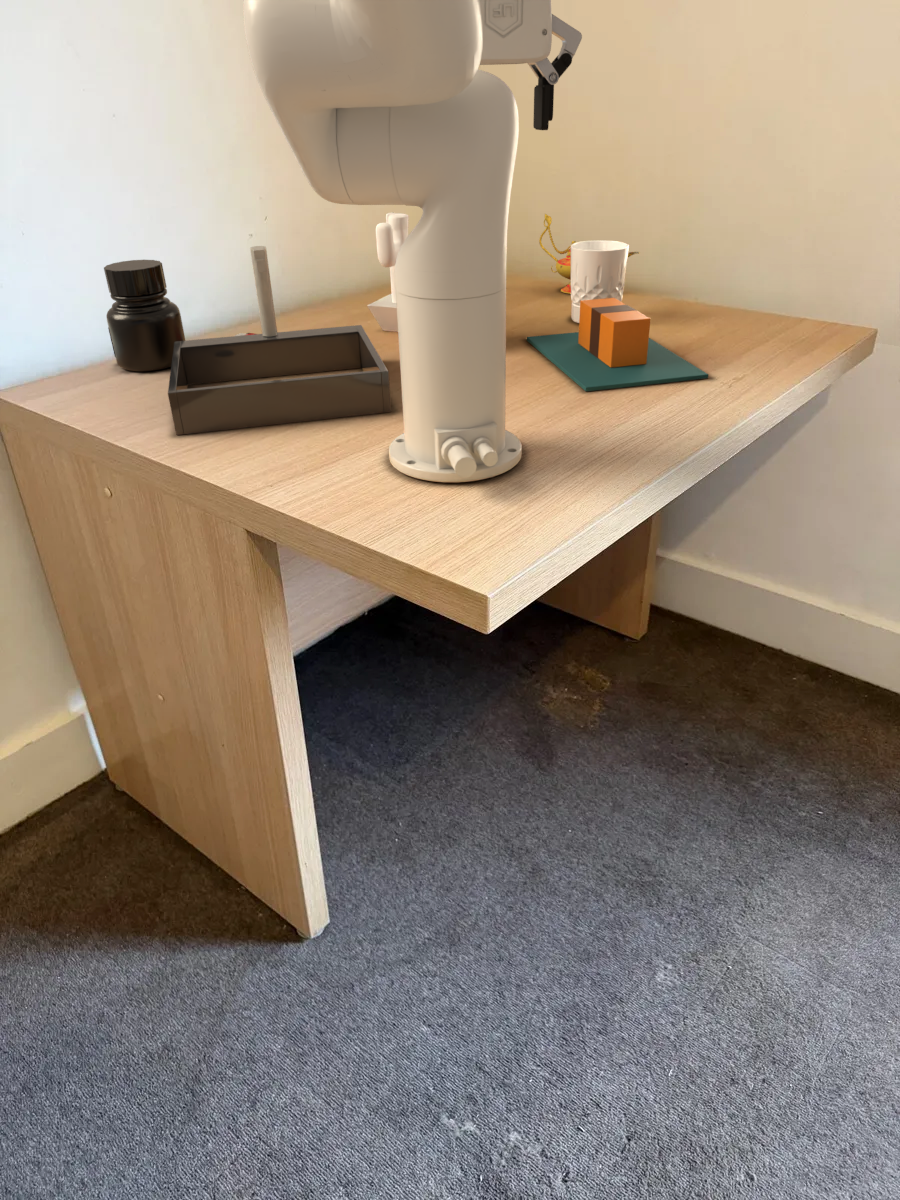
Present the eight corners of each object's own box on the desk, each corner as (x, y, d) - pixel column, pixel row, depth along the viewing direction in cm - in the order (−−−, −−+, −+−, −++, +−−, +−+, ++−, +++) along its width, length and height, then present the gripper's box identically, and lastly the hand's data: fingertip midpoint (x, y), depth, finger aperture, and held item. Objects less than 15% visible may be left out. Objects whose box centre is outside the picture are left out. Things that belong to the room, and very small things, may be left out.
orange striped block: (646, 364, 104) (651, 318, 101) (610, 368, 103) (613, 321, 100) (611, 340, 113) (614, 297, 110) (577, 343, 112) (579, 300, 109)
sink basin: (391, 412, 94) (381, 270, 86) (176, 435, 89) (145, 289, 82) (364, 360, 110) (354, 237, 102) (181, 378, 106) (156, 251, 98)
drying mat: (708, 378, 100) (708, 374, 100) (585, 391, 97) (585, 387, 97) (631, 330, 118) (631, 326, 118) (526, 340, 116) (526, 336, 115)
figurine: (440, 321, 125) (436, 208, 117) (411, 338, 118) (405, 219, 110) (395, 317, 128) (388, 207, 120) (365, 334, 121) (355, 217, 113)
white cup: (631, 316, 125) (637, 242, 119) (609, 329, 119) (615, 252, 114) (581, 310, 128) (585, 238, 123) (558, 322, 123) (560, 248, 117)
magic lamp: (625, 303, 131) (631, 225, 126) (526, 289, 141) (528, 216, 135) (646, 294, 136) (653, 218, 130) (549, 281, 146) (551, 210, 140)
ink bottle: (170, 348, 117) (151, 254, 111) (204, 360, 112) (186, 262, 106) (102, 364, 112) (78, 267, 105) (135, 378, 106) (112, 276, 100)
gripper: (411, -86, 76) (419, 135, 85) (598, -85, 79) (588, 129, 87) (398, -72, 82) (407, 133, 91) (572, -71, 85) (564, 127, 94)
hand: (495, 131), depth 89 cm, fingers open, 9 cm apart
